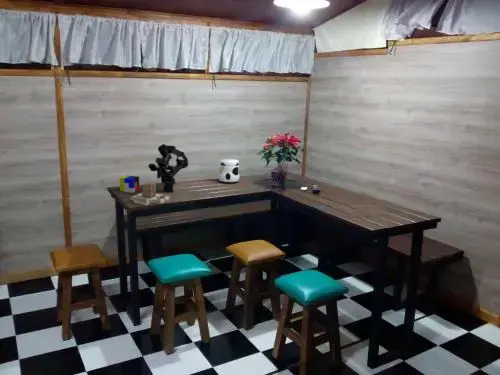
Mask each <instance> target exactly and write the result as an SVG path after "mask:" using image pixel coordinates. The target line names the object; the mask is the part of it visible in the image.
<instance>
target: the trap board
mask: <svg viewBox="0 0 500 375" xmlns="http://www.w3.org/2000/svg"><path fill="white" fill-rule="evenodd" d="M170 199H171V196H170V195H165V194H164V193H157V192H156V197H154V198H151V199H150V198H143V192H140V193H137V194H135V195H133V196H130V201H133V204H135V205H142V206H143V205H144V206H147V205H149V204H152V203H153V204H159V205H160V204H163V203H164V202H167V201H169V200H170Z"/></svg>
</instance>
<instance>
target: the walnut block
mask: <svg viewBox="0 0 500 375" xmlns="http://www.w3.org/2000/svg"><path fill="white" fill-rule="evenodd" d="M142 193H143V198H150V199H151V198H154V197H156V193H157V189H156V183H152V182H146V183H144V184H142Z"/></svg>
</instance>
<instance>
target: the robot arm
mask: <svg viewBox="0 0 500 375" xmlns="http://www.w3.org/2000/svg"><path fill="white" fill-rule="evenodd" d="M157 150H158V153H159V154H160V156H162V157H156V158H155V163H149V164H148V166H147V167H148V168H149V170H150V171H151V172H156V179H160V181H161V183H162V184H163V185H162V190H163V192H164V193H174V192H175V191H174V185H175V184H176V179H175V177H174V176H176V175H177V174H178V173H179V172H180V171H181V170H182V169H186V168H188V166H189V160H188V157H187V156H186V154H185V151H184V152H183V151H181V150H179V149H177V147H176V146H175V145H170V144H169V145H168V144H165V143H162V144H161V145H160V146H158V148H157ZM172 155H174V156H176V159H175V165H170V160H173V157H172Z"/></svg>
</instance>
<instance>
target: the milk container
mask: <svg viewBox="0 0 500 375" xmlns="http://www.w3.org/2000/svg"><path fill="white" fill-rule="evenodd" d="M239 165H240V161H239V160H238V159H235V158H224V159H223V158H221V159H220V160H219V172H218V181H219V182H221V183H226V184H227V183H228V184H234V183H237V182H239V181H240V177H241V176H240V172H239V169H240V166H239Z"/></svg>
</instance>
